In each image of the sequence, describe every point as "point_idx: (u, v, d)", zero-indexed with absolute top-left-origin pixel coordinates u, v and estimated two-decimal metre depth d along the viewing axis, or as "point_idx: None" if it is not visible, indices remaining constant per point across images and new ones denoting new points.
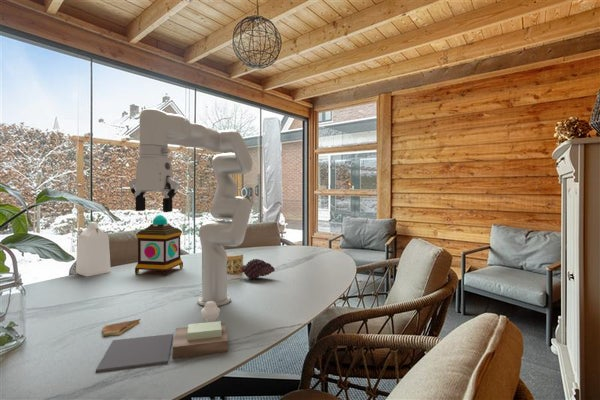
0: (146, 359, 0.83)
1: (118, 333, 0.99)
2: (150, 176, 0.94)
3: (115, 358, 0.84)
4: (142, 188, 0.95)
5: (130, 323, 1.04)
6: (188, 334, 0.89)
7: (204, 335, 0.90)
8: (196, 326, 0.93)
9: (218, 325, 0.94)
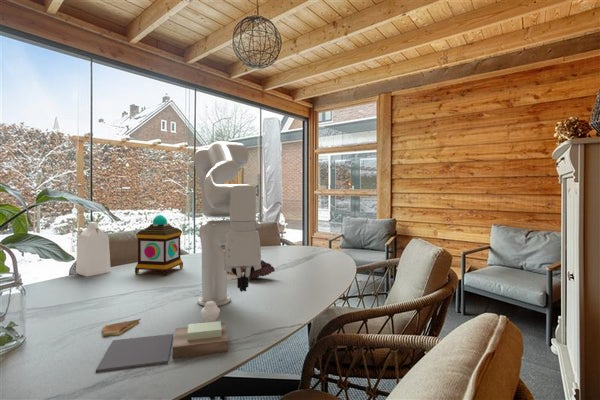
0: (146, 359, 0.83)
1: (118, 333, 0.99)
2: (247, 252, 0.93)
3: (115, 358, 0.84)
4: (235, 264, 0.93)
5: (130, 323, 1.04)
6: (188, 334, 0.89)
7: (204, 335, 0.90)
8: (196, 326, 0.93)
9: (218, 325, 0.94)
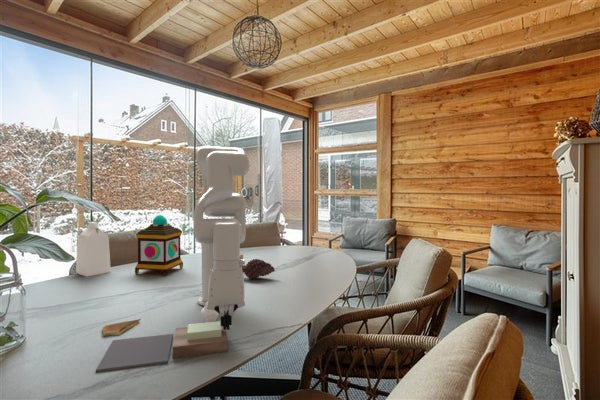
0: (146, 359, 0.83)
1: (118, 333, 0.99)
2: (230, 291, 0.92)
3: (115, 358, 0.84)
4: (218, 303, 0.92)
5: (130, 323, 1.04)
6: (188, 334, 0.89)
7: (204, 335, 0.90)
8: (195, 326, 0.93)
9: (217, 325, 0.94)
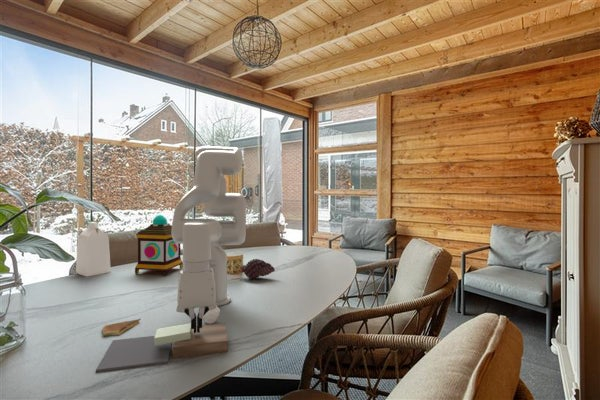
0: (146, 359, 0.83)
1: (118, 333, 0.99)
2: (200, 293, 0.90)
3: (115, 358, 0.84)
4: (188, 306, 0.90)
5: (130, 323, 1.04)
6: (155, 339, 0.87)
7: (172, 339, 0.88)
8: (164, 330, 0.91)
9: (187, 328, 0.91)
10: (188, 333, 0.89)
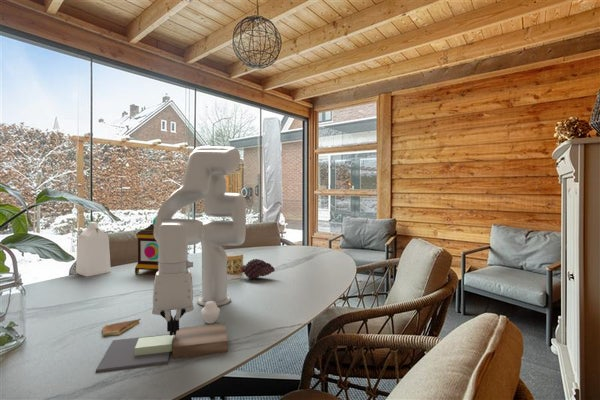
0: (146, 359, 0.83)
1: (118, 333, 0.99)
2: (176, 295, 0.88)
3: (115, 358, 0.84)
4: (163, 308, 0.88)
5: (130, 323, 1.04)
6: (135, 349, 0.85)
7: (153, 350, 0.86)
8: (146, 340, 0.89)
9: (169, 339, 0.90)
10: (170, 345, 0.88)
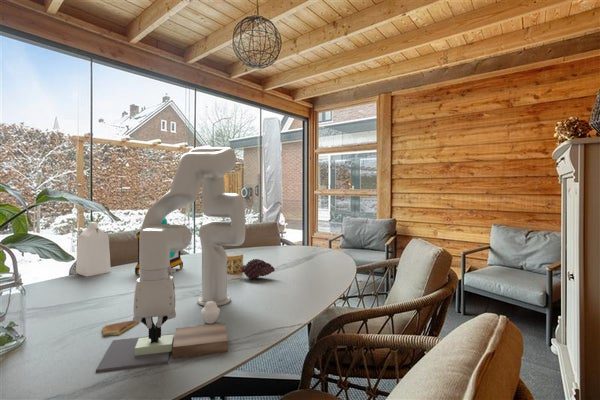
0: (146, 359, 0.83)
1: (118, 333, 0.99)
2: (157, 302, 0.87)
3: (115, 358, 0.84)
4: (144, 315, 0.87)
5: (130, 323, 1.04)
6: (135, 349, 0.85)
7: (153, 350, 0.86)
8: (146, 340, 0.89)
9: (169, 339, 0.90)
10: (170, 345, 0.88)
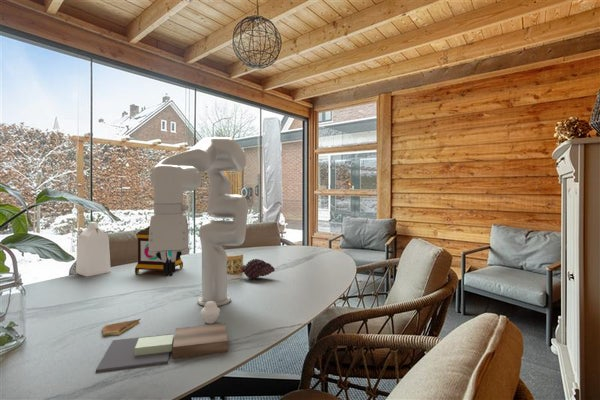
0: (146, 359, 0.83)
1: (118, 333, 0.99)
2: (172, 236, 0.89)
3: (115, 358, 0.84)
4: (159, 248, 0.89)
5: (130, 323, 1.04)
6: (135, 349, 0.85)
7: (153, 350, 0.86)
8: (146, 340, 0.89)
9: (169, 339, 0.90)
10: (170, 345, 0.88)
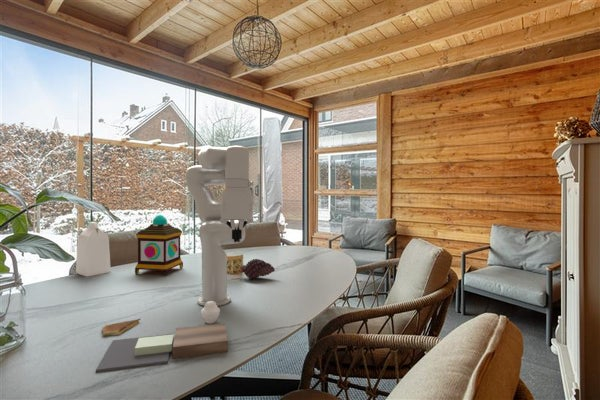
0: (146, 359, 0.83)
1: (118, 333, 0.99)
2: (241, 207, 1.04)
3: (115, 358, 0.84)
4: (230, 217, 1.04)
5: (130, 323, 1.04)
6: (135, 349, 0.85)
7: (153, 350, 0.86)
8: (146, 340, 0.89)
9: (169, 339, 0.90)
10: (170, 345, 0.88)
